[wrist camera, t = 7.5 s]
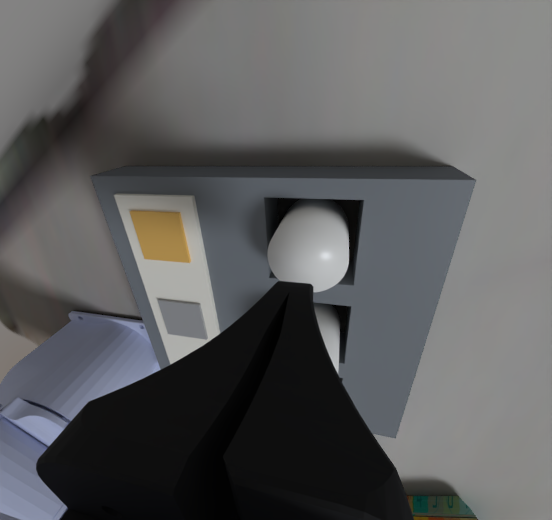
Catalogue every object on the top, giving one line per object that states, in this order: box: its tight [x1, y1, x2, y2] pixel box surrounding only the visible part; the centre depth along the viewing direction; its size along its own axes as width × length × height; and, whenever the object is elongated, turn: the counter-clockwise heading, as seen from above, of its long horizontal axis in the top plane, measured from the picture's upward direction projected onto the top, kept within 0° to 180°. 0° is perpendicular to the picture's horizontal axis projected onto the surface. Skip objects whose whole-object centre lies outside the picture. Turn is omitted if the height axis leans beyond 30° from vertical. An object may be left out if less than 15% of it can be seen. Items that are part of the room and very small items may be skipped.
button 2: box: [267, 198, 349, 292], centre depth 15 cm, size 4×4×4 cm
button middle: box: [313, 302, 340, 373], centre depth 17 cm, size 4×4×4 cm
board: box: [90, 166, 476, 438], centre depth 20 cm, size 20×20×4 cm
